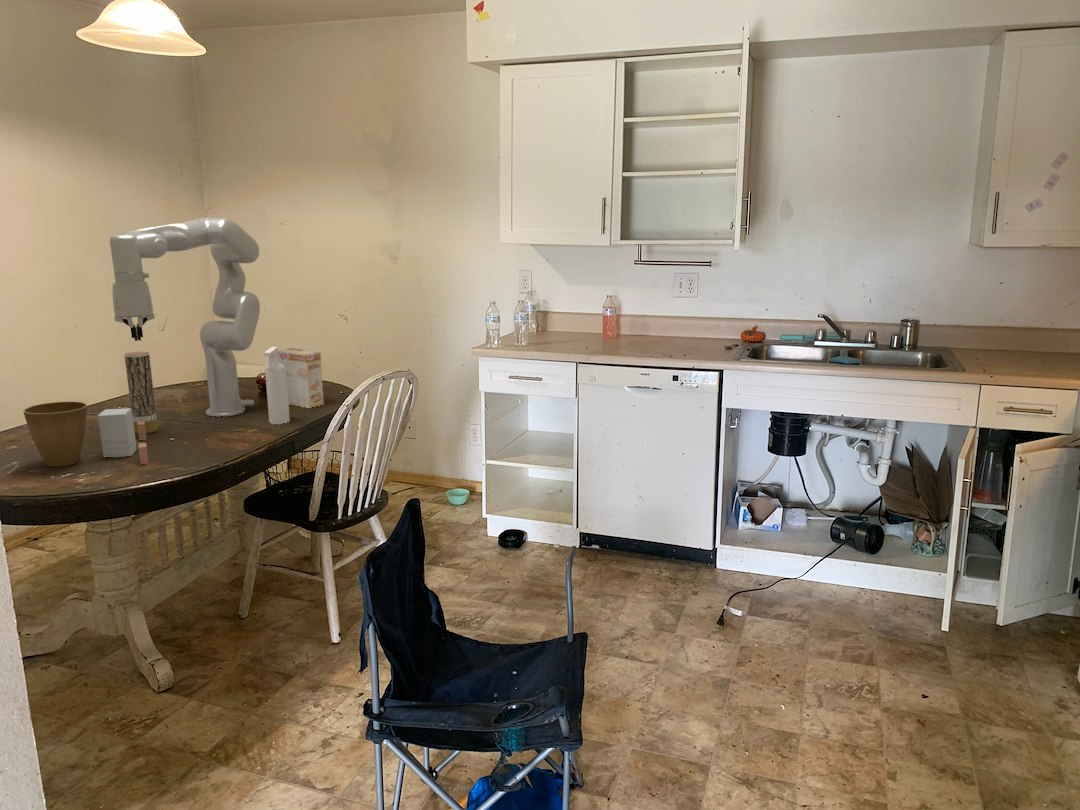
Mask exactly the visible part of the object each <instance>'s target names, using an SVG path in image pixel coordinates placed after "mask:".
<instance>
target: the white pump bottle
mask: <svg viewBox="0 0 1080 810" xmlns="http://www.w3.org/2000/svg"><path fill="white" fill-rule="evenodd" d="M279 350H280V349H279V347H278V346H271V347H270V348H268V349H267V350H266V351H264V352H263V356H264V357H267V360H266V366H265V368H264V371H265V373H264V374H265V384H266V385H265V387H266V398H267V409H268V411H267V412H268V423H269V422H270V423H271V424H270V423H269V424H270V425H275V424H276V425H284V424H283V423H285V424H288V423H290V422H291V419H290V407H289V406H290V405H289V403H288V389H287V375H286V368H285V366H284V365H283V364H282V362H281V357H280V356H279V355H278V352H279ZM278 358H279V360H278ZM289 421H290V422H289ZM287 422H288V423H287Z"/></svg>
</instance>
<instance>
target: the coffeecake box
mask: <svg viewBox="0 0 1080 810" xmlns="http://www.w3.org/2000/svg"><path fill="white" fill-rule="evenodd" d="M278 350H279V352H278V353H277V354H278V355H279V356H280V357H281V362H282V364H283V365H284V366H285V368H286V375H287V389H288V403H289V406H293V405H294V406H293V407H298V406H300V407H299V408H304V407H305V408H304V409H309V408H310V409H313V408H312V407H314V408H317V407H316V406H318V407H321V406H320V405H322V406H324V405H325V403H324V389H323V376H322V375H323V373H322V372H323V371H322V356H321V355H322V353H321V351H315V350H310V349H301V348H295V347H294V348H293V347H290V348H283V349H278ZM278 360H279V358H278Z"/></svg>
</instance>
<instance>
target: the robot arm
mask: <svg viewBox="0 0 1080 810" xmlns="http://www.w3.org/2000/svg"><path fill="white" fill-rule="evenodd" d="M109 245H110V253H111V260H112V266H113V267H112V268H113V274H114V281H115V282H112V289H111V291H112V303H113V304H112V306H113V311H114V319H113V320H114V321H115V322H117V323H123V324H125V325H126V326H128V327H129V328H130V335H131V339H134V342H138V341H139V342H140V341H142V338H144V335H143V334H144V333H143V327H144V325H145V324H146V323H147V322H148V321H152V320H155V318H156V316H155V314H154V308H153V307H154V306H153V301H152V296H151V291H150V288H149V284H148V281H145V279H147V278H150V273H149V272H144V271H143V264H142V259H159V258H161V257H163V256H164V255H165V254H166V253H167V252H183V251H184V252H186V251H190V250H192V249H193V250H194V249H195V248H200V247H204V246H208V245H210V246H209V249H210V253H211V257H212V258H213V259H214V262H215V264H216V266H217V269H218V273H219V275H218V276H219V277H218V282H217V286H216V290H215V293H214V297H213V302H212V313H213V314H214V315H215V316H216V317H218V318H222V319H228V320H227V321H226V320H210V321H207V322H205V323H204V324H203V325H202V326H201V327H200V331H199V338H200V343H201V345H202V349H203V354H204V357H205V366H206V368H205V369H206V378H207V386H208V387H207V388H208V390H207V391H208V398H209V408H207V409H206V410H205V414H206V416H209V417H215V416H216V417H221V416H223V417H231V416H232V417H233V416H237V415H241V414H243V413H244V412H245V411H246V408H245V406H246V407H247V406H255V402H254V401H255V400H254V399H241V397H240V392H239V381H238V371H237V370H238V369H237V360H236V357H235V355H234V353H233V351H237V352H239V351H240V352H242V351H246V350H247V349H249V348H250V346H251V345H252V343H253V340H254V337H255V333H256V330H257V325H258V321H259V316H260V313H261V306H260V300H259V298H258V297H257V295H256V294H254V293H253V292H250V291H245V286H246V280H247V279H246V274H245V273H244V272H245V271H243V268H242V267H241V264H252V263H254V262H256V261H257V259H258V258H259V255H260V247H259V244H258V243H257V241H256V240H255V239H254V237H253V236H251V234H249V233H248V232H247V231H246V230H244V229H243V227H241V226H240V225H238V223H236V222H235V221H233V220H232V219H230V218H228V217H201V218H196V219H192V220H187V221H182V222H177V223H170V224H164V225H160V226H152V227H146V228H140V229H136V230H130V231H126V232H124V233H122V234H113V235H112V236H110V237H109ZM132 318H137V324H136V325H135V323H134V322H133V321H134V320H133V319H132ZM230 320H234V321H230Z"/></svg>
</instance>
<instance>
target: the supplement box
mask: <svg viewBox="0 0 1080 810" xmlns="http://www.w3.org/2000/svg"><path fill="white" fill-rule="evenodd" d="M96 417H97V424H98V428H99V435H100V444H101V450H102V456H103V459H106V458H105V457H113V458H127V456H129V457H132V456H133V455H134V453H136V451H137V449H138V448H137V447H138V445H137V440H136V433H135V432H134V424H133V417H132V409H131V407H127V408H110V409H109V408H108V409H104V410H103V411H101V412H100V413H99V414H98V415H97V416H96Z"/></svg>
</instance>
